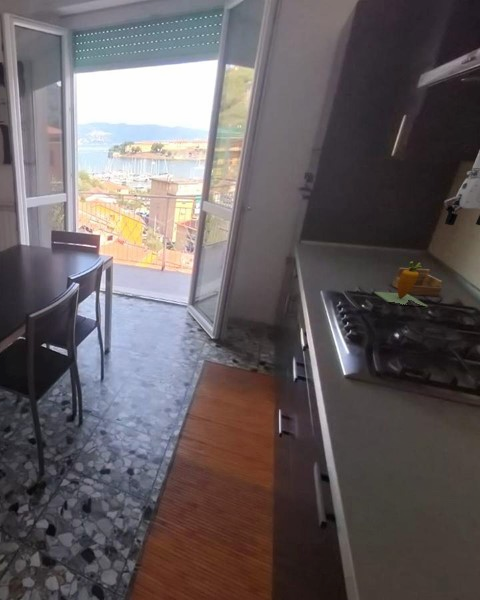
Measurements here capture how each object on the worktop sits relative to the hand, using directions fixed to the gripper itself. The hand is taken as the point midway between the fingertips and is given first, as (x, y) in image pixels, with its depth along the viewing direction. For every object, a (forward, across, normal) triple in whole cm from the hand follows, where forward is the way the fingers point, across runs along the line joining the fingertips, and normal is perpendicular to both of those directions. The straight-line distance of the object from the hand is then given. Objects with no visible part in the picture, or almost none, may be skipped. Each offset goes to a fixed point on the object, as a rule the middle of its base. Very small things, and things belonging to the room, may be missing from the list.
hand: (464, 224), depth 127 cm
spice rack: (+29, -1, +9) cm, 30 cm away
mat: (+29, -13, -3) cm, 32 cm away
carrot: (+28, -13, -3) cm, 32 cm away
